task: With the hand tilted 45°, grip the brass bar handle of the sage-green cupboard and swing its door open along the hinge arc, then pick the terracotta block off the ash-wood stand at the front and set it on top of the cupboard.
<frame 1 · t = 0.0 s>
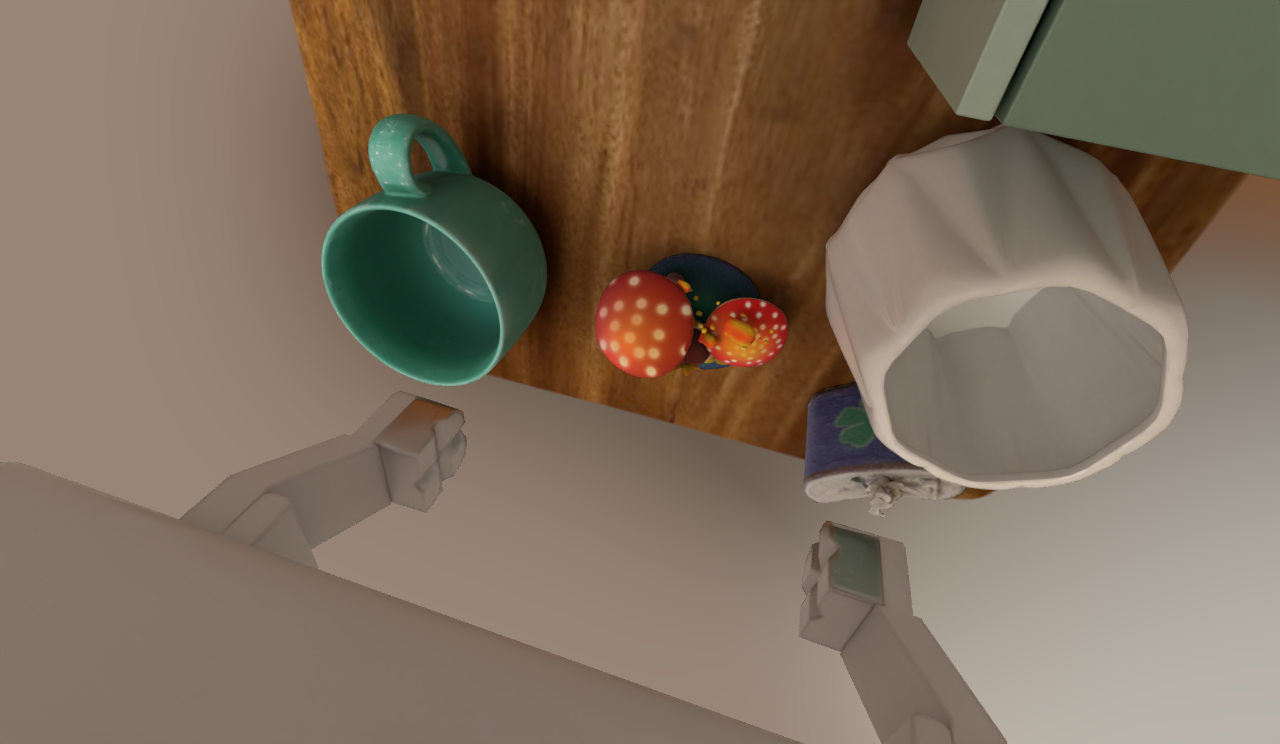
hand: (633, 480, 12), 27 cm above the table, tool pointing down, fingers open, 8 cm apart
figurine: (699, 310, 41), on the table
mug: (485, 217, 41), on the table
vase: (952, 238, 33), on the table
flask: (874, 393, 41), on the table
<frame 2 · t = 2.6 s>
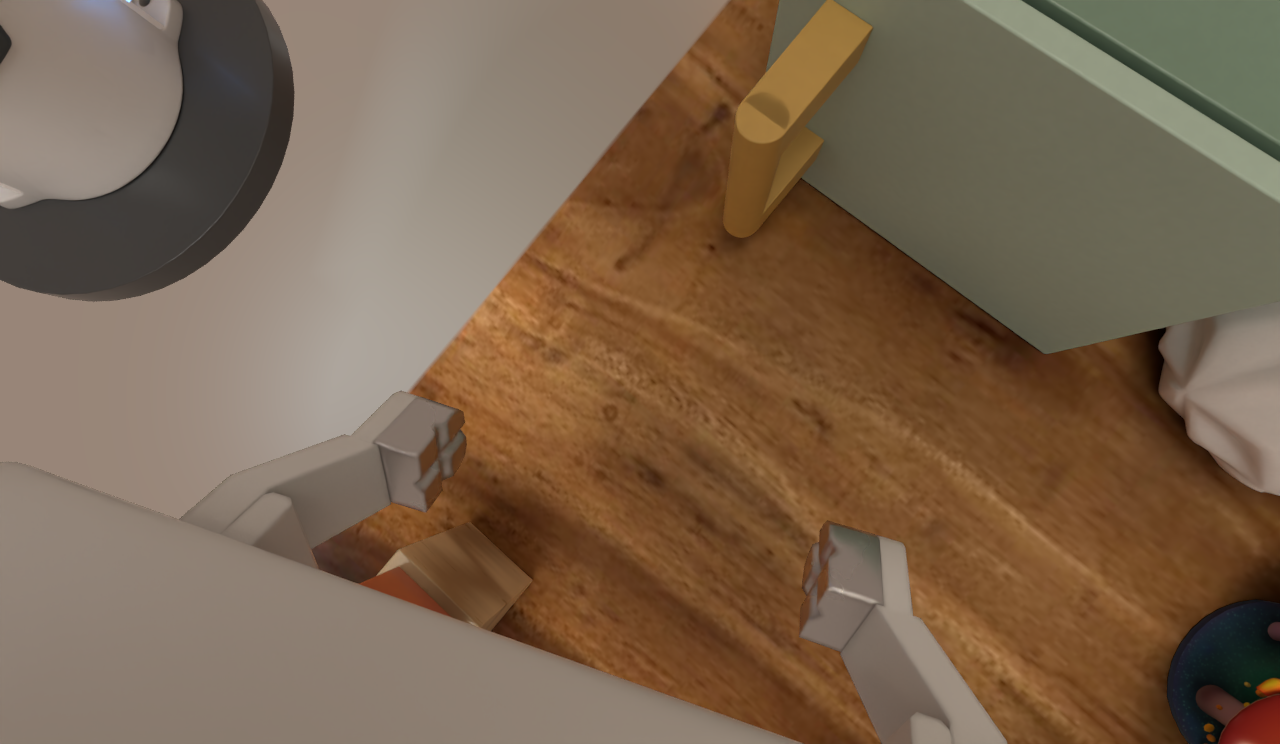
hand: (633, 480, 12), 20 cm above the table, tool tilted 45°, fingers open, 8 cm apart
block: (401, 632, 25), point 8 cm above the table, touching stand
figurine: (1263, 693, 28), on the table
door: (916, 229, 25), point 8 cm above the table, hinge at 0.0°
vase: (1265, 370, 30), on the table
cupboard: (965, 154, 33), on the table
stand: (473, 584, 33), on the table
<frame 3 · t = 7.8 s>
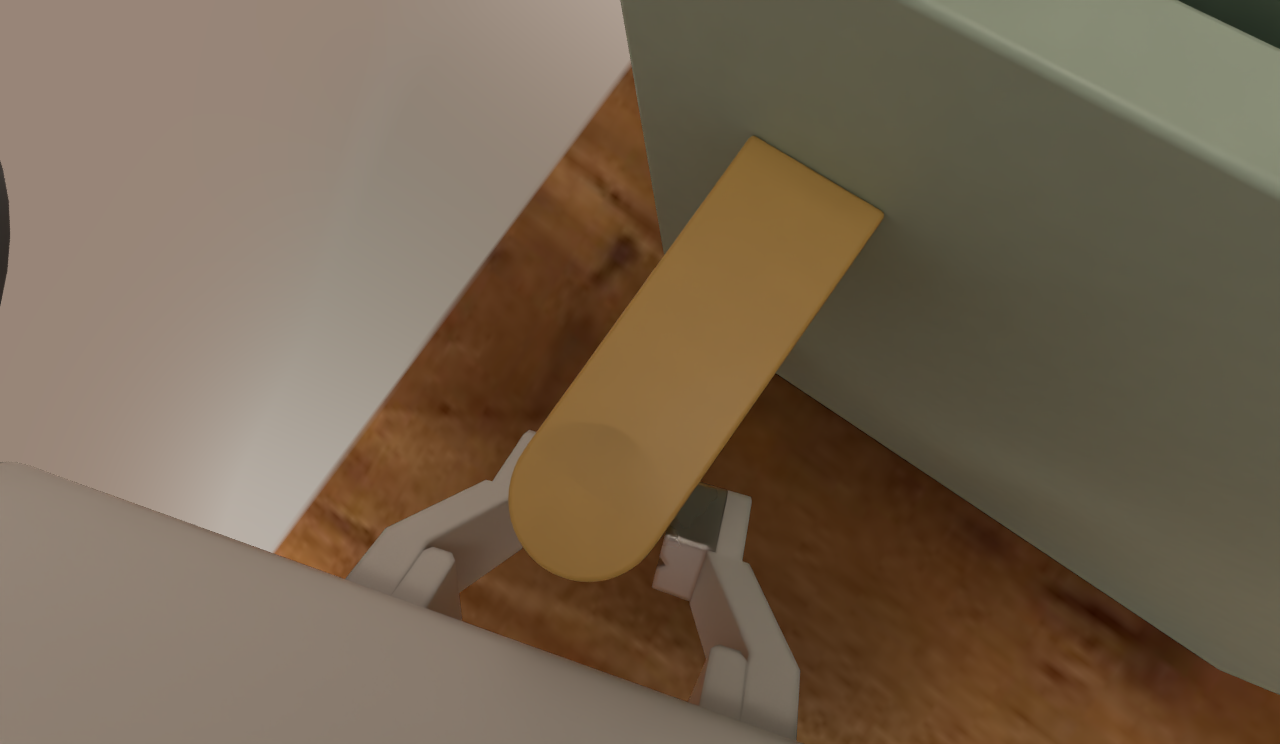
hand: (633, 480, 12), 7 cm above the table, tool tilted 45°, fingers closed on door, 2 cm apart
door: (1007, 591, 11), point 8 cm above the table, hinge at 0.4°, touching gripper
cupboard: (1032, 305, 19), on the table
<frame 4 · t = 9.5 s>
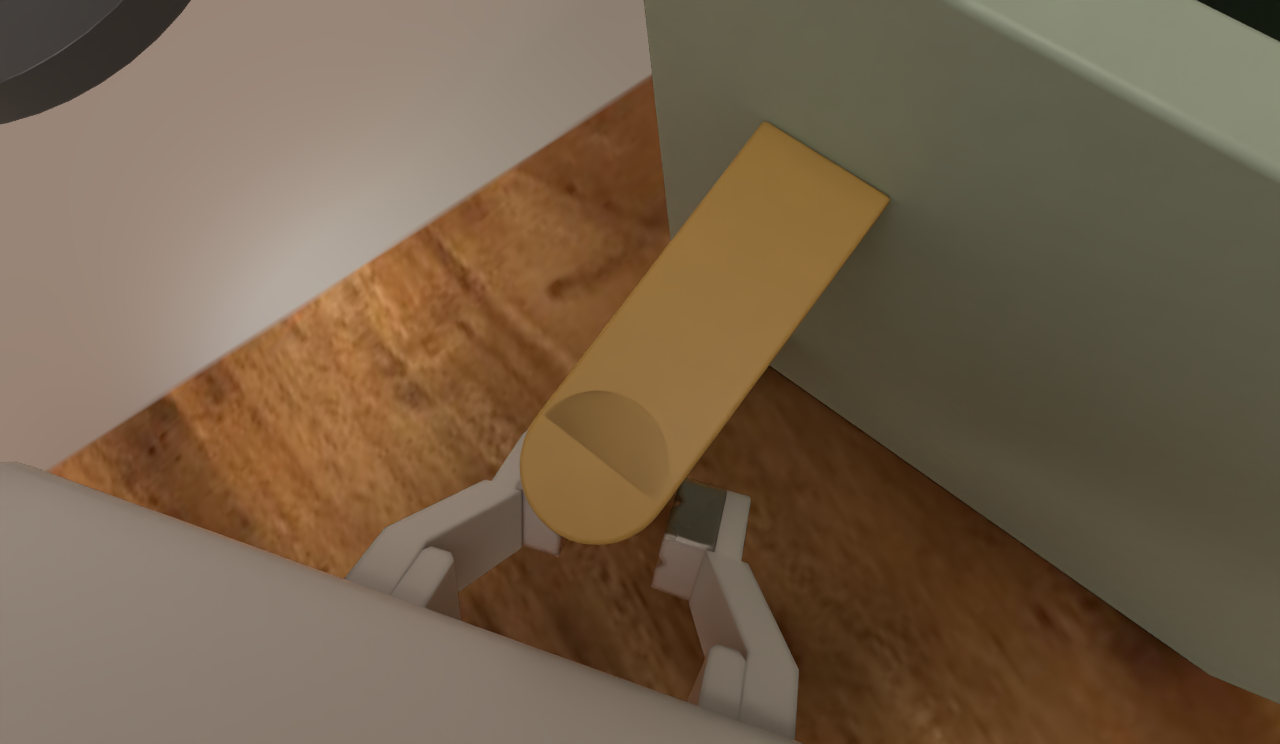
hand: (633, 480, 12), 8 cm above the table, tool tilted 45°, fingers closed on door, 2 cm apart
door: (1001, 581, 11), point 8 cm above the table, hinge at 20.7°, touching gripper
cupboard: (1158, 286, 19), on the table
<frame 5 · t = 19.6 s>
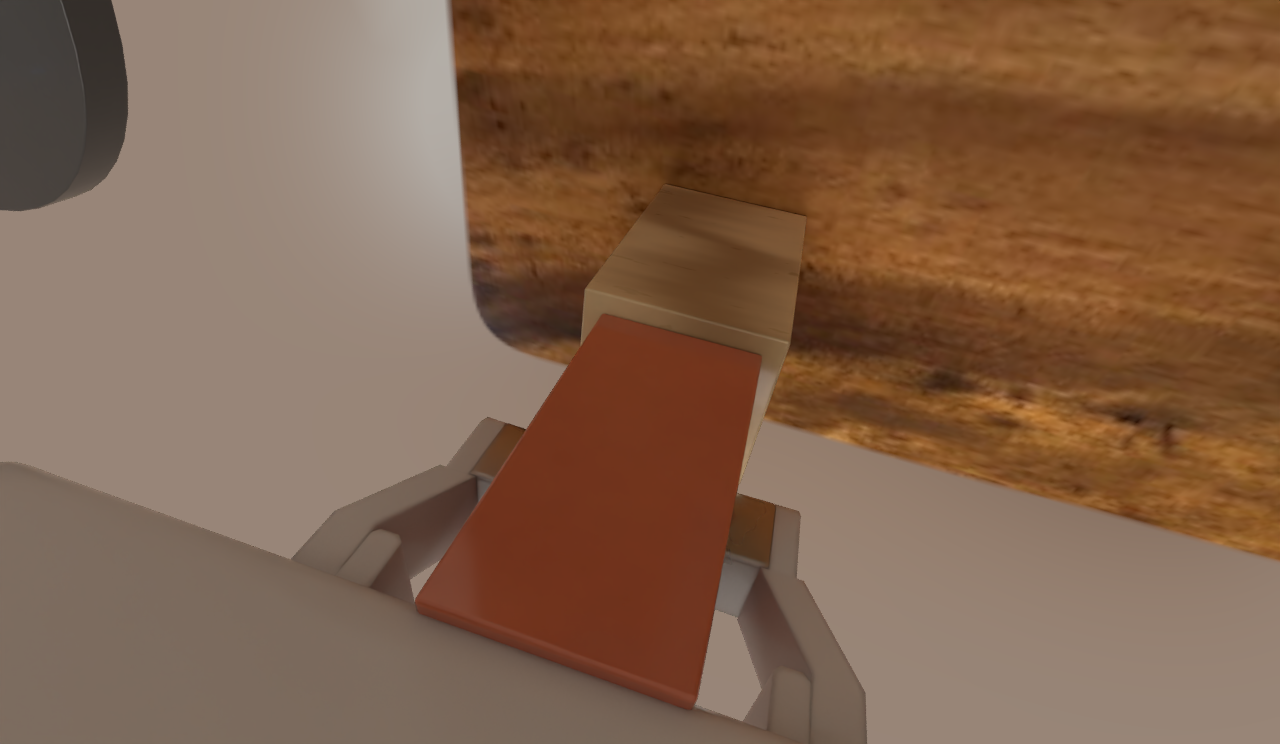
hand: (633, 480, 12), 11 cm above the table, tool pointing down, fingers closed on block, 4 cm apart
block: (668, 395, 15), point 8 cm above the table, touching gripper, stand
stand: (719, 264, 21), on the table
when the fingers open (19 cm above the table, at t = 27.6 s): block stays where it is, resting on cupboard.
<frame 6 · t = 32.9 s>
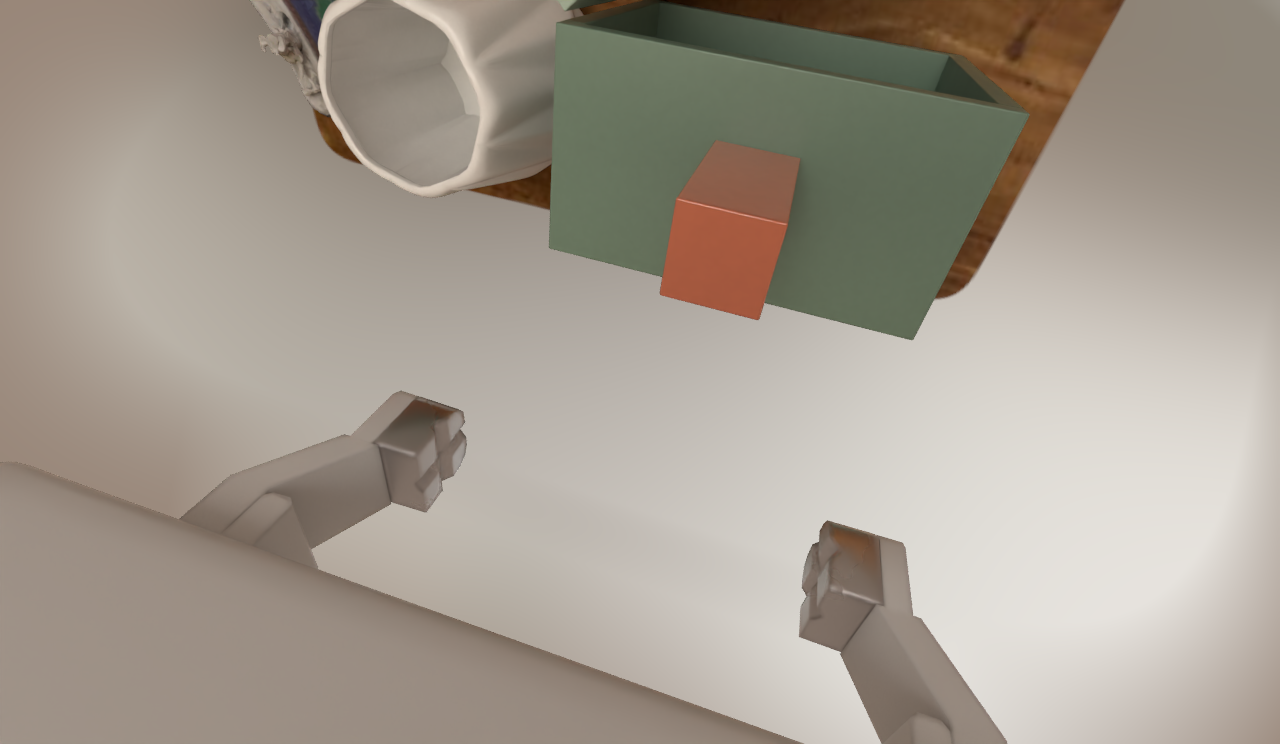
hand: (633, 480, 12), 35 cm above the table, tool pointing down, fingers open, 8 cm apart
block: (747, 191, 27), point 16 cm above the table, touching cupboard
vase: (524, 58, 42), on the table
cupboard: (776, 117, 40), on the table
flask: (379, 28, 44), on the table
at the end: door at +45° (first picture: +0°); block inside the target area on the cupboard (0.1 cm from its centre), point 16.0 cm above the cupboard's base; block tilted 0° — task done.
